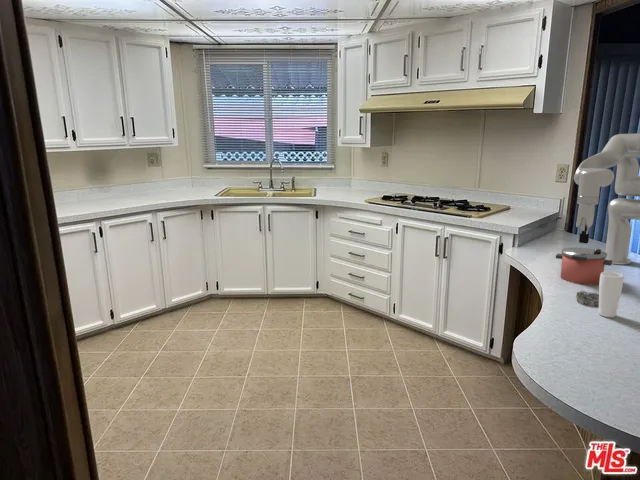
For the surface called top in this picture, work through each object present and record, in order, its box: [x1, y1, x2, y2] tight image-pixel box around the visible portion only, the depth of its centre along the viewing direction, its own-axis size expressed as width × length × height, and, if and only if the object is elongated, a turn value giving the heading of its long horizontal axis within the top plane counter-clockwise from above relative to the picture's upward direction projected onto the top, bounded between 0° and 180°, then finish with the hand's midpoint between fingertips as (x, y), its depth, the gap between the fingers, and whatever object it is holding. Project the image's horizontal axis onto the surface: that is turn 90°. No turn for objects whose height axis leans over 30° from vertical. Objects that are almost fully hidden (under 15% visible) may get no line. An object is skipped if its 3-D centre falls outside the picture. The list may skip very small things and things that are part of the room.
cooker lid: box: [561, 247, 607, 261], centre depth 188 cm, size 20×17×3 cm
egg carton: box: [575, 290, 599, 307], centre depth 164 cm, size 11×8×4 cm
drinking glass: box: [597, 271, 624, 318], centre depth 151 cm, size 7×7×15 cm
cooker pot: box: [555, 253, 613, 285], centre depth 191 cm, size 18×21×11 cm
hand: (583, 242), depth 185 cm, fingers closed
